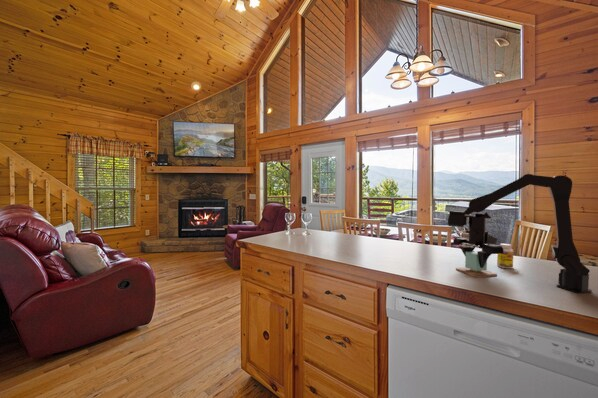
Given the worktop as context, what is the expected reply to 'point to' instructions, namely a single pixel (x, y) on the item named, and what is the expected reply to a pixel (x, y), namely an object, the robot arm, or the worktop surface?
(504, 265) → the supplement bottle
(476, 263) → the mint tissue box
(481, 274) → the post fixture
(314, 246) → the worktop surface
